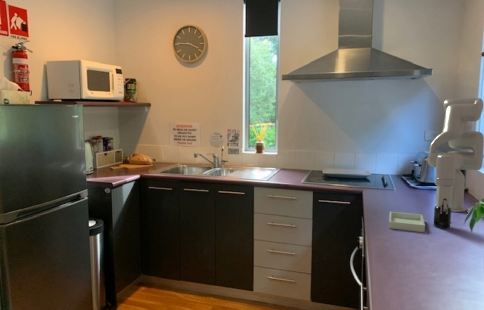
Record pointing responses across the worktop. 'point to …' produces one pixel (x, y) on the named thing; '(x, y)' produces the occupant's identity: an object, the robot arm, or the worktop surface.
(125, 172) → the worktop surface
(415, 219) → the tray
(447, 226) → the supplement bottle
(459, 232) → the worktop surface
